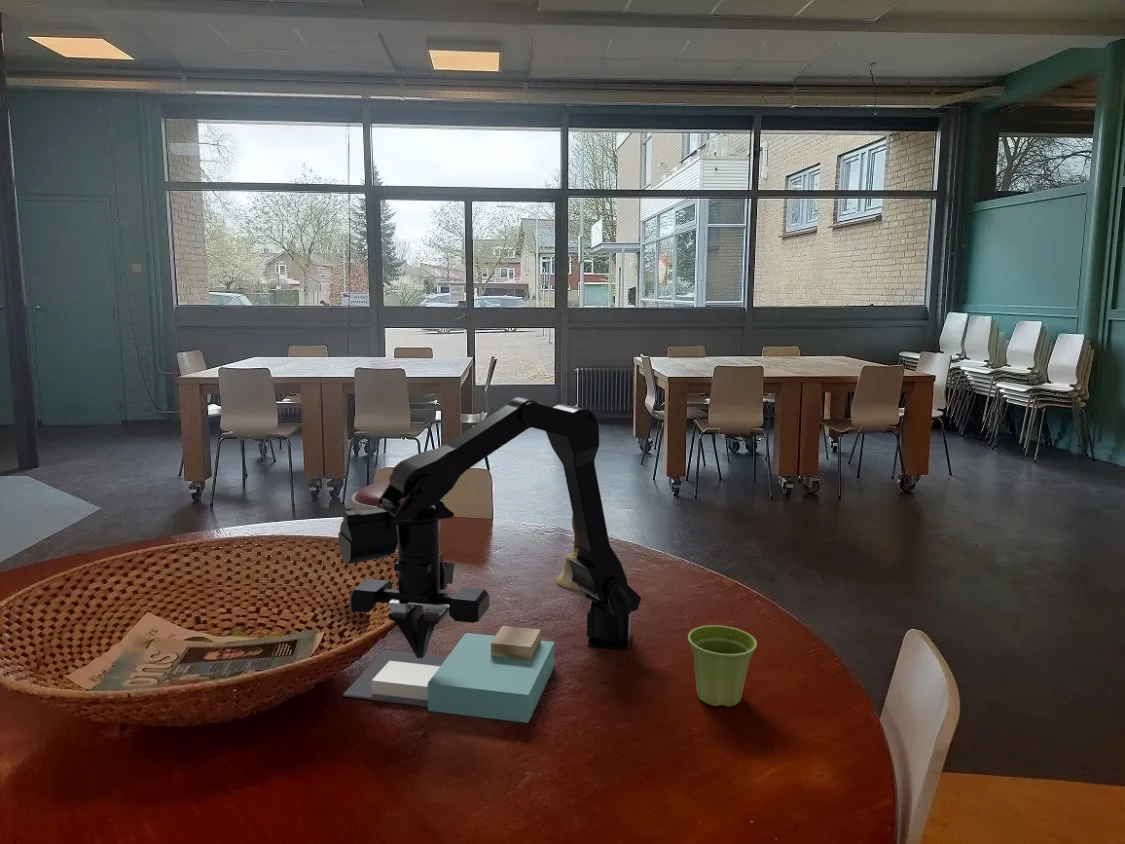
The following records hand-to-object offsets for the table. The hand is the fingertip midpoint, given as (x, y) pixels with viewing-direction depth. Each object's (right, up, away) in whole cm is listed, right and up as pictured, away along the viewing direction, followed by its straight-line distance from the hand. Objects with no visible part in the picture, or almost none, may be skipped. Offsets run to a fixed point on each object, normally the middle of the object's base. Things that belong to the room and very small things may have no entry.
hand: (420, 657), depth 110 cm
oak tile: (+13, 0, +5) cm, 14 cm away
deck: (+10, -5, +2) cm, 12 cm away
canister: (-12, +2, +46) cm, 47 cm away
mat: (-3, -4, +4) cm, 7 cm away
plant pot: (+42, -6, 0) cm, 42 cm away
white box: (-2, -5, +1) cm, 5 cm away
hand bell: (+23, +2, +43) cm, 48 cm away
